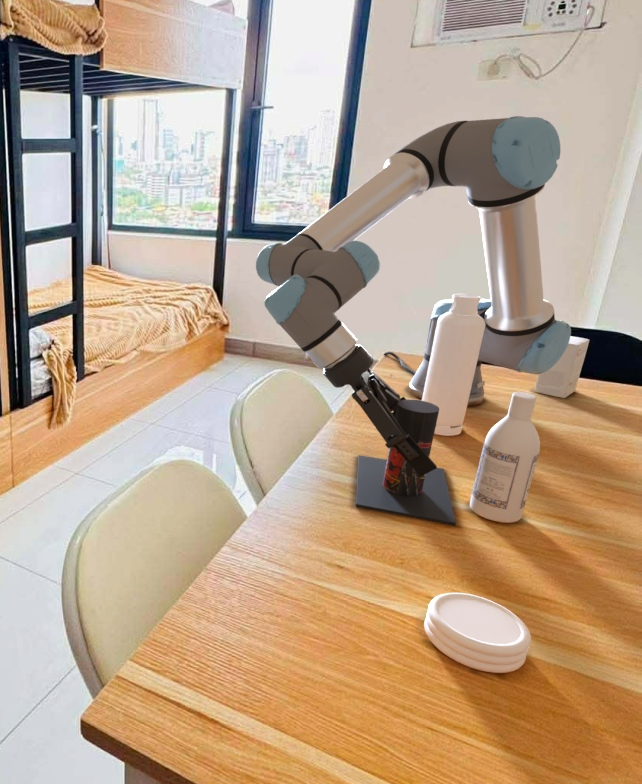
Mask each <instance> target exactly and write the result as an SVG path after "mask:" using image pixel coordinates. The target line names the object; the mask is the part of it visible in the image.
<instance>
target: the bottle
mask: <svg viewBox="0 0 642 784" xmlns="http://www.w3.org/2000/svg"><path fill="white" fill-rule="evenodd" d="M451 299H453V304H452V306H451V308H450V311H449V312H447V313H445V314H443V315H441V316H440V317H439V319H438V322H437V327H436V332H435V337H434V342H433V347H432V352H431V357H430V362H429V367H428V372H427V377H426V382H425V387H424V392H423V397H422V399H421V401H425V402H429V403H432V404H434V405H436V406H437V407H439V413H438V418H437V423H436V427H435V432H434V435H437V436H438V435H439V436H447V437H451V436H452V437H453V436H458V435H460V434H461V433H462V430H463V425H464V424H463V423H464V422H465V418H466V417H465V416H466V414H467V413H466V412H467V408H468V406H467V404H468V400H469V395H470V391H471V387H472V382H473V378H474V373H475V369H476V365H477V360H478V356H479V351H480V347H481V342H482V338H483V334H484V329H485V321H484V319H483V318H482V317H481V316H479V315H478V311H477V306H478V304H479V302H480V300H481V299H482V296H481V295H478V294H474V293H453V294H452V297H451Z"/></svg>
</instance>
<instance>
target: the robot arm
mask: <svg viewBox="0 0 642 784" xmlns="http://www.w3.org/2000/svg"><path fill="white" fill-rule="evenodd" d="M560 158H561V139H560V136H559V133H558V130H557V129H556V127H555V126H554V124H552V123H551V122H550V121H548V120H546V119H544V118H542V117H539V116H521V115H514V116H509V117H503V118H490V119H488V118H487V119H476V120H456V121H453V122H449V123H446V124H444V125H440V126H437V127H435V128H434V129H432V130H429V131H428V132H426V133H424V134H422V135H420V136H418V137H417V138H415V139H413V140H412V141H410V142H409V143H407V144H406V145H404V146H403V147H401V148H400V149H399V150H397V151H396V152H395V153H393V154H392V155H391V156H389V158H387V159H386V161H385V163H384V165H383V168H382V169H381V170H379V171H378V172H377V173H375V175H373V176H372V177H370V178H369V179H367V180H366V181H365V182H364V183H363V184H361V185H360V186H358V187H357V188H356V189H354V190H353V191H352V192H351V193H349V194H348V195H347V196H346V197H344V198H343V199H342V200H340V201H339V202H338V203H336V204H335V205H334V206H333V207H331V208H330V209H328V210H327V211H326V212H325V213H323V214H322V215H321V216H320V217H318V218H317V219H316V220H315V221H312V223H310V224H309V225H308V226H306V227H305V228H304V229H303V230H302V231H300V232H298V233H297V234H296V235H295V236H294V237H292V238H291V239H289V240H288V241H286V242H285V243H283V242H277V243H269V244H267V245H265V246H264V247H262V249H261V250H260V251H259V253H258V255H257V257H256V261H255V270H256V273H257V276H258V277H259V279H260V280H262V281H264V282H266V283H269V284H272V285H274V286H276V288H275V289H274V290H272V291H271V292H270V293H269V294H268V295H267V296H266V297H265V298H264V301H263V302H264V307H265V309H266V310H267V311H268V313H269V314H270V316H271V317H272V318H273V319H274V321H275V323H276V324H277V325H279V326H280V327H281V328H282V329H283V330H284V331H285V332H286V333H287V335H288V336H289V337H290V338H291V339H292V340H293V341H294V342H295V343H296V345H297V346H298V347H299V348H300V349H301V351H302V352H303V353H304V354H305V355H306V356H304V358H305V360H306V361H312V363H313V364H314V365H315V366H316V368H317V369H322V374H323V376H324V377H325V378H326V379H327V380H328V382H330V384H331V385H332V386H333V387H334V388H338V389H339V388H343V387H345V386H350V387H351V389H352V390H353V391H352V393H351V397H352V399H353V400H354V401H355V402H356V403H357V405H358V406H359V407H360V408H361V409H362V411H363V412H364V414H365V415H366V416H367V418H368V419H369V421H370V423H372V424H373V426H374V428H375V429H376V430H377V432H378V433H379V435H380V436H381V437H382V439H383V440H384V441H385V443H384V445H385V447H386V448H387V449H389V448H390V447H392V446H394V447H395V448H396V449H397V450H398V451H399V453H400V454H401V455H402V456H403V457H404V458H405V459H406V461H407V462H408V463H409V464H410V465H411V466H412V467H413V468H414V470H415V471H416V472H417V473H418V474H419V475H420V476H423V475H425V474H427V473H429V472H430V471H432V470H434V469H436V468H438V465H437V464H436V463H435V462H434V461H433V460H432V459H431V457H430V456H429V457H428V456H427V454H426V453H425V452H424V451H423V450H422V449H421V448H420V447H419V445H418V444H417V443H416V442H415V441H414V440H413V439H412V438H411V436H410V435H409V434H408V435H407V434H406V433H405V432H404V431H403V429H402V427H401V426H400V424H399V423H398V421H397V420H396V418H395V415H396V410H397V405H398V402H399V401H401V400H407V398H406V397H405V396H402V397H401V395H400V394H399V393H398V392H396V391H395V390H394V389H393V388H392V387H391V386H390V385H389V384H388V383H387V382H385V381H384V380H383V379H382V378H381V377H380V376H378V374H377V373H376V372H374V370H372V368H371V367H372V366H373V364H374V363H375V362H374V361H375V359H374V357H373V355H372V354H370V353H369V352H368V350H367V349H366V348H365V347H364V346H363V345H362V344H360V343H359V344H358V338H357V337H355V335H354V334H353V333H352V332H351V331H350V330H349V329H348V328H347V326H346V325H345V324H344V323H343V322H342V321H341V320H340V319H339V318H338V316H337V315H336V313H337V312H338V311H339V310H340V309H341V308H342V307H343V306H344V305H346V304H347V303H348V302H349V301H350V300H351V299H352V298H354V297H355V296H356V295H357V294H359V293H360V292H361V291H362V290H363V289H365V288H366V287H367V286H368V284H369V283H370V282H371V281H372V280H373V279H374V278H375V277H376V276H377V275H378V273H379V272H380V269H381V262H380V259H379V255H378V254H377V252H376V251H375V250H374V249H373V247H371V246H370V245H369V244H367V243H366V242H363V241H360V240H357V239H358V238H359V237H361V236H362V235H364V233H366V232H367V231H369V229H371V228H372V227H374V226H375V225H376V224H377V223H379V222H380V221H381V220H383V219H384V218H385V217H386V216H388V215H389V214H390V213H392V212H393V211H394V210H396V209H397V208H398V207H399V206H401V205H402V204H403V203H404V202H406V201H407V200H408V199H415V198H419V197H420V196H422V195H423V194H425V193H426V192H427V191H429V190H432V189H436V188H439V187H440V188H441V187H459V188H461V187H462V188H465V189H466V195H467V202H468V204H469V205H470V206H471V207H472V208H473V207H474V208H475V209H477V210H478V212H479V220H480V226H481V227H480V228H481V235H482V243H483V244H482V245H483V251H484V259H485V267H486V274H487V280H488V290H489V296H490V298H481V300H480V302H479V304H478V306H477V311H478V315H479V316H481V317H482V318H483V319H484V321H485V329H484V334H483V338H482V342H481V347H480V351H479V356H478V360H477V365H476V369H475V373H474V378H473V382H472V387H471V391H470V395H469V400H468V404H467V407H468V406H475V405H478V404H479V405H480V404H481V403H482V402H483V400H484V396H485V388H484V386H485V385H486V383H485V380H483V375H482V368H481V367H482V363H483V362H484V363H486V364H487V363H488V364H491V365H494V366H497V367H500V368H504V369H508V370H511V371H515V372H518V373H525V374H529V375H530V374H531V375H538V374H542V373H544V372H546V371H548V370H549V369H551V368H552V367H553V366H554V365H555V364H556V363H557V362H558V361H559V359H560V358H561V356H562V355H563V353H564V352H565V350H566V348H567V346H568V343H569V340H570V336H572V335H571V334H572V328H571V325H570V324H569V323H567V322H566V321H564V320H561V319H559V320H556V318H555V316H556V315H555V307H554V305H553V304H552V303H551V302H550V301H548V300H546V299H544V289H543V276H542V275H543V274H542V265H541V249H540V238H539V227H538V226H539V225H538V214H537V212H538V211H537V202H536V197H537V196H538V195H539V194H540V193H541V192H542V191H543V190H544V189H545V187H546V184H547V183H548V182H549V181H550V180H551V179H552V177H553V176H554V174H555V172H556V170H557V168H558V163H557V161H559V160H560ZM452 304H453V298H449V299H442V300H439V301H437V302H436V303H435V304H434V306H433V310H432V312H431V316H430V318H429V320H430V322H429V326H428V327H429V328H428V331H427V332H428V333H427V337H426V342H425V348H424V352H423V358H422V361H421V363H420V364H419V367H418V368H417V370H416V371H415V370H414V369H412V368H410V367H408V366H407V365H406V364H405V362H404V360H403V359H402V358H401V357H399V356H398V355H397V354H396V353H394V352H392V351H386V352H384V353H383V354H382V355H383V356H388V355H390V356H392V357H394V358H395V359H396V360H397V361H398V362H399V363H400V366H401V367H402V368H403V369H404V370H405V371H407V372H409V373H411V374H412V375H413V376H412V378H411V380H410V382H409V385H408V392H409V393H410V394H412V395H413V396H414V397H416V398H419V399H420V400H422V397H423V392H424V387H425V382H426V377H427V372H428V367H429V362H430V357H431V352H432V347H433V342H434V337H435V332H436V327H437V322H438V319H439V317H440V316H441V315H443V314H445V313H447V312H449V311H450V308H451V306H452ZM393 434H396V435H394V436H393V437H392V435H393Z"/></svg>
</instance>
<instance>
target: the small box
mask: <svg viewBox="0 0 642 784" xmlns="http://www.w3.org/2000/svg"><path fill="white" fill-rule="evenodd" d="M589 343H590V339H588V338H584V337H579V336H572V335H571V336H570V340H569V343H568V346H567V348H566V350H565V352H564V353H563V355H562V356H561V358H560V359H559V361H558V362H557V363H556V364H555V365H554V366H553V367H552V368H551V369H549V370H548V371H546V372H544V373H542V374H537V378H536V381H535V386H534V389H533V392H534V393H539V394H543V395H547V396H550V397H551V396H552V397H556V398H561V399H565V398H567V397H568V396H570V395H571V394H573V393H574V392H576V390H577V387H578V384H579V379H580V375H581V372H582V368H583V365H584V362H585V359H586V354H587V350H588V347H589Z"/></svg>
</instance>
